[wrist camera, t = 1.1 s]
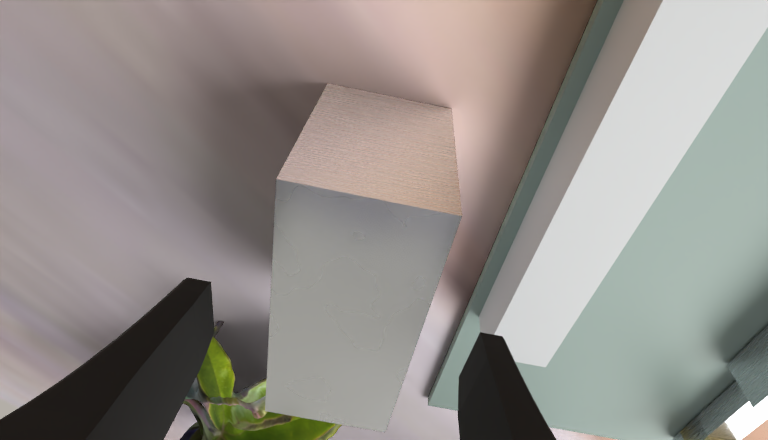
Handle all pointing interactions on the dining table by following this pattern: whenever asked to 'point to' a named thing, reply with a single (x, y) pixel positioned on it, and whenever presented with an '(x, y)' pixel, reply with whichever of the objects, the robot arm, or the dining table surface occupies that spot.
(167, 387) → the robot arm
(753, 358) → the block
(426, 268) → the steel block
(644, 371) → the vise base
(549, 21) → the dining table surface
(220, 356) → the green leafy plant
